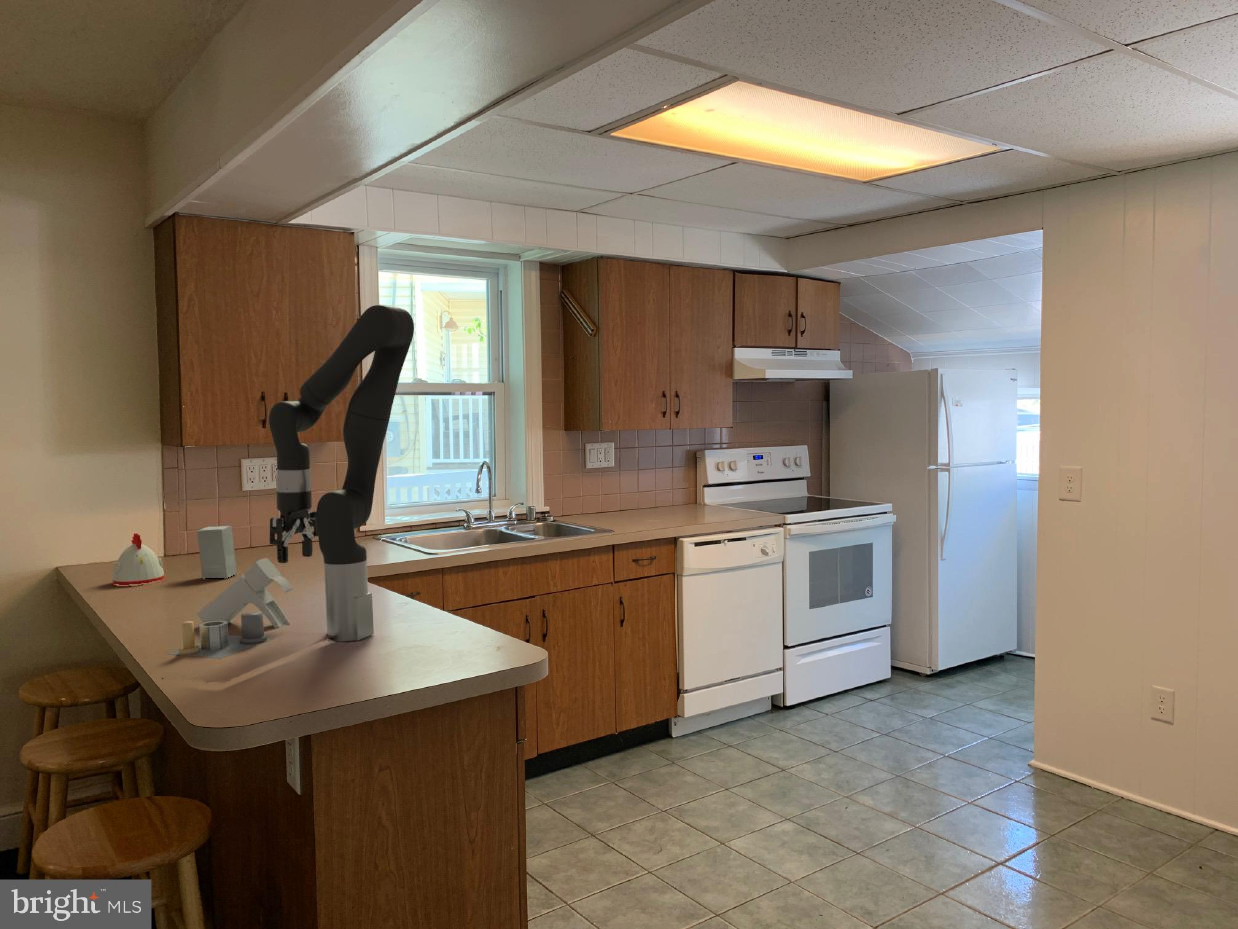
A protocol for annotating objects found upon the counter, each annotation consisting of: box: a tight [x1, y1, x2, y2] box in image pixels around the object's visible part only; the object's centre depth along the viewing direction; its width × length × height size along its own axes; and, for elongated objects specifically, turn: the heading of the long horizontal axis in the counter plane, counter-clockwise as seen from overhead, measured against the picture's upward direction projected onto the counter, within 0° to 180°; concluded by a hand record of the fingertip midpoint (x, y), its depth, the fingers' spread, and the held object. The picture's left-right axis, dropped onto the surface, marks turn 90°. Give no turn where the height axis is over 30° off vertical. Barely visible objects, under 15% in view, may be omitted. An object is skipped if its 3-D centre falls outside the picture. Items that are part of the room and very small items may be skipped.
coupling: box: [199, 621, 229, 650], centre depth 195 cm, size 5×5×5 cm
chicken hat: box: [112, 533, 165, 585], centre depth 277 cm, size 14×14×15 cm
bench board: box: [167, 611, 275, 659], centre depth 195 cm, size 14×16×8 cm
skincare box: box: [196, 525, 238, 579], centre depth 281 cm, size 8×7×16 cm
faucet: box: [195, 557, 294, 629], centre depth 214 cm, size 6×16×20 cm
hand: (295, 559), depth 208 cm, fingers open, 8 cm apart
